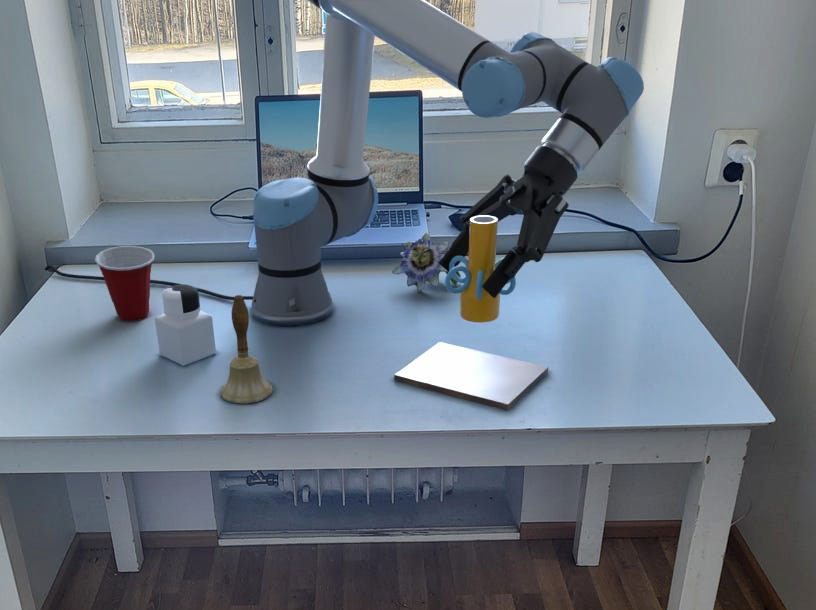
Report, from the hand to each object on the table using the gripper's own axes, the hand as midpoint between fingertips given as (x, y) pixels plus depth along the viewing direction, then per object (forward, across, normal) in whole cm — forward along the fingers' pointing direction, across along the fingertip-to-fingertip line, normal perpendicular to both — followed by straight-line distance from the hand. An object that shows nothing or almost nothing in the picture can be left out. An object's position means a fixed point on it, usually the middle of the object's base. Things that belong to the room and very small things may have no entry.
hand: (465, 280), depth 137 cm
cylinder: (+3, 0, -6) cm, 7 cm away
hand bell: (+34, +14, +10) cm, 38 cm away
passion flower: (0, +41, -24) cm, 47 cm away
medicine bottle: (+37, +32, +13) cm, 51 cm away
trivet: (+10, +1, -14) cm, 17 cm away
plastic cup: (+40, +54, +16) cm, 69 cm away
